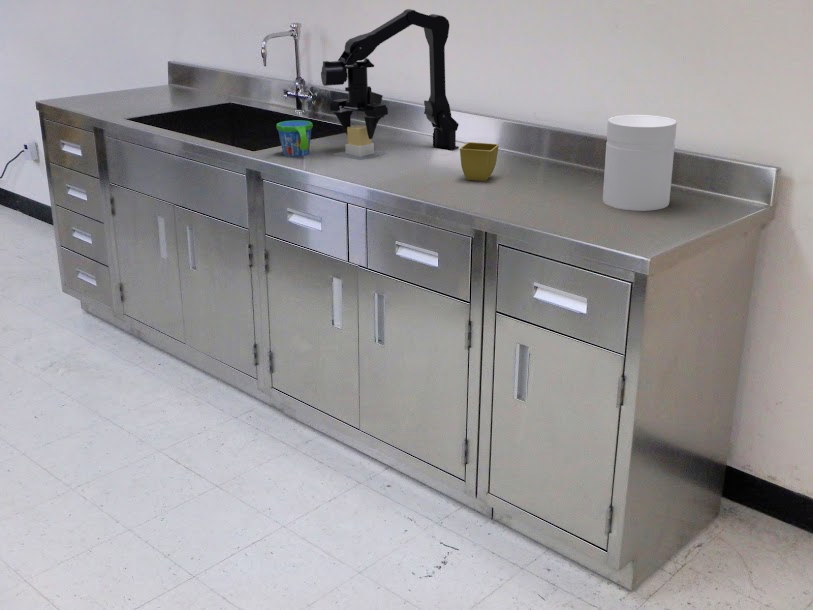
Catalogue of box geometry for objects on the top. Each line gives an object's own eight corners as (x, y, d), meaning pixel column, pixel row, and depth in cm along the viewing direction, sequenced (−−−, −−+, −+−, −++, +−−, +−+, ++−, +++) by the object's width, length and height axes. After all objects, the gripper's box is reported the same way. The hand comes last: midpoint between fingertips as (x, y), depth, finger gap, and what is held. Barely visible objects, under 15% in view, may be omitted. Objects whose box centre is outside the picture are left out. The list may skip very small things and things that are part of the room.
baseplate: (388, 156, 283) (388, 152, 283) (360, 163, 275) (360, 159, 275) (359, 150, 291) (359, 147, 290) (331, 157, 282) (331, 154, 282)
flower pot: (498, 176, 259) (499, 143, 255) (490, 184, 251) (491, 150, 248) (467, 174, 261) (468, 141, 258) (458, 181, 254) (459, 148, 250)
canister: (628, 214, 223) (634, 129, 216) (589, 197, 237) (594, 117, 230) (682, 205, 229) (691, 123, 222) (642, 190, 243) (649, 112, 235)
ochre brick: (371, 143, 282) (371, 126, 280) (359, 146, 278) (359, 129, 276) (359, 141, 285) (358, 124, 283) (347, 143, 281) (347, 127, 279)
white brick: (374, 153, 283) (373, 143, 282) (360, 156, 279) (359, 146, 277) (359, 150, 286) (359, 140, 285) (345, 153, 282) (345, 143, 281)
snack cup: (273, 153, 289) (271, 120, 285) (306, 150, 292) (305, 117, 289) (285, 164, 275) (282, 129, 272) (320, 160, 279) (318, 126, 275)
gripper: (400, 83, 275) (401, 136, 280) (354, 77, 286) (356, 128, 292) (373, 87, 267) (375, 142, 273) (327, 82, 279) (330, 134, 284)
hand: (359, 136), depth 281 cm, fingers open, 9 cm apart
